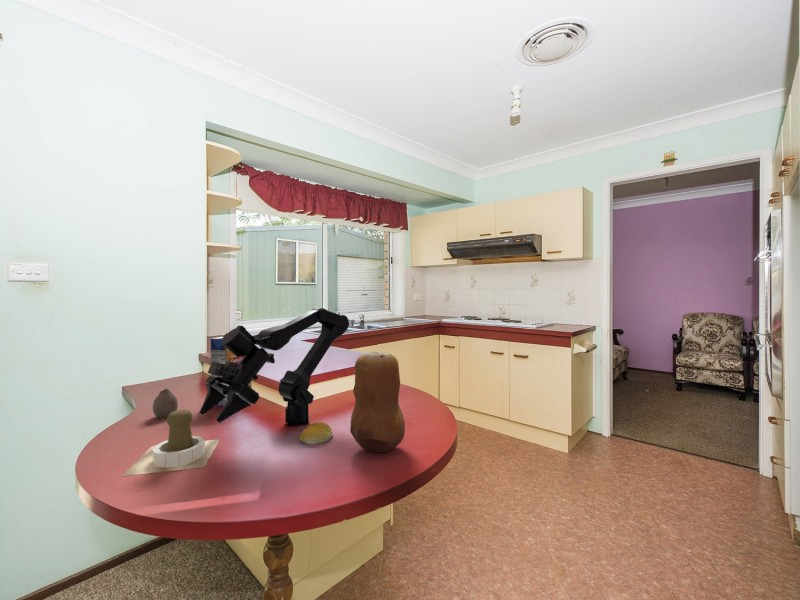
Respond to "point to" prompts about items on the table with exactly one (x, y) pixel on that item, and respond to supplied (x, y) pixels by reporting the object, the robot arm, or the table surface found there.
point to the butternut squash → (377, 403)
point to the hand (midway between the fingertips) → (208, 417)
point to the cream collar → (178, 454)
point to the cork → (179, 431)
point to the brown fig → (164, 404)
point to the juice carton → (223, 360)
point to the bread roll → (316, 433)
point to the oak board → (147, 466)
